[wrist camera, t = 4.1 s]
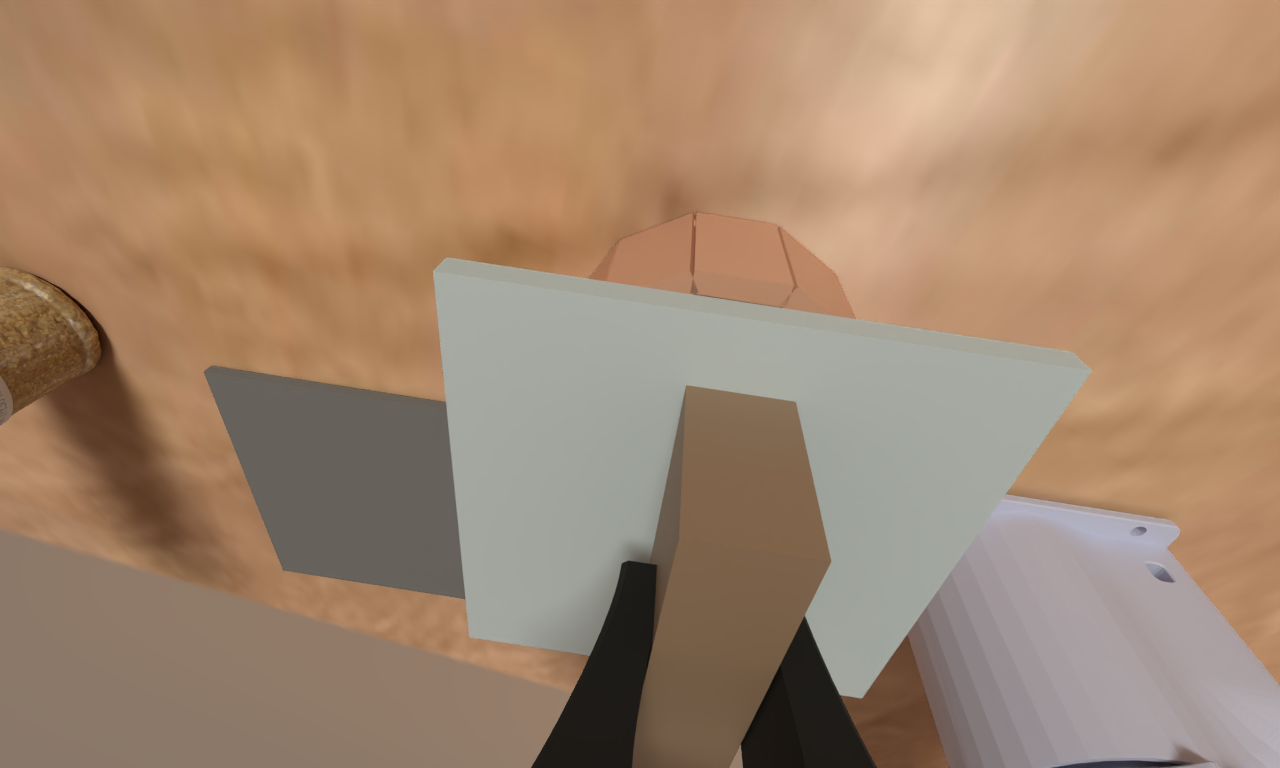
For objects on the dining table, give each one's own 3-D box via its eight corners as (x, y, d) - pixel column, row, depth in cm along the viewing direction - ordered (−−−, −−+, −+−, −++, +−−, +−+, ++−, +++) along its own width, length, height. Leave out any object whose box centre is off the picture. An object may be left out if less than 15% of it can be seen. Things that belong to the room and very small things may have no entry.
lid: (1073, 351, 10) (1264, 539, 6) (857, 677, 16) (897, 857, 13) (446, 257, 10) (314, 393, 7) (476, 617, 16) (416, 780, 13)
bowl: (891, 242, 16) (938, 307, 13) (801, 467, 21) (818, 554, 18) (581, 194, 16) (550, 247, 13) (566, 431, 21) (541, 511, 18)
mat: (527, 415, 21) (524, 421, 21) (525, 601, 28) (523, 608, 28) (211, 365, 21) (203, 371, 21) (287, 563, 28) (283, 570, 28)
